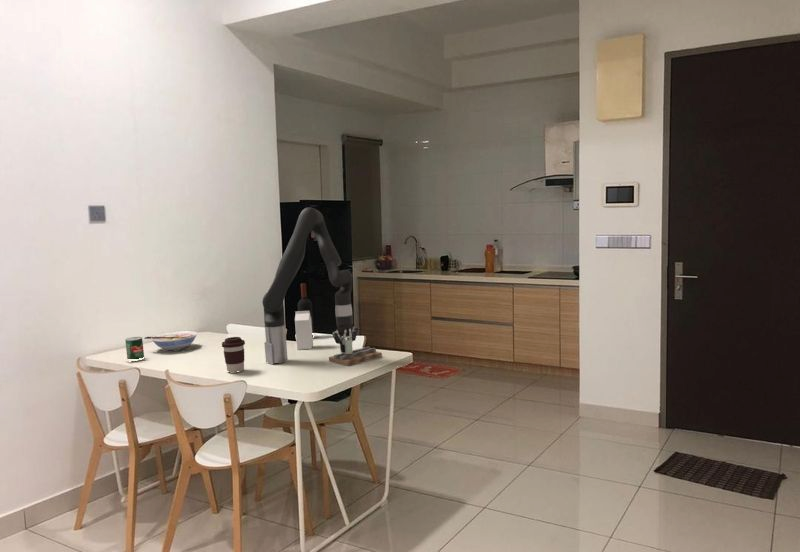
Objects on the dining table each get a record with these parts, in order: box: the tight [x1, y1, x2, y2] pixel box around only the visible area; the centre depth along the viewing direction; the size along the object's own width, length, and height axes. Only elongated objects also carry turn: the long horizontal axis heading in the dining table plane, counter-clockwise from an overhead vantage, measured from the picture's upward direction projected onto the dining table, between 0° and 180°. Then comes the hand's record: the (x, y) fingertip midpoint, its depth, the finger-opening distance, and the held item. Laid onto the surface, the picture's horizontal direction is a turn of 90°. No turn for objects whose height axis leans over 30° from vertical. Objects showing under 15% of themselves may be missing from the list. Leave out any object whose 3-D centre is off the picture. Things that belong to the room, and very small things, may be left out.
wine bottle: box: [297, 283, 315, 334], centre depth 343 cm, size 8×8×30 cm
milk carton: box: [294, 310, 314, 351], centre depth 320 cm, size 7×7×19 cm
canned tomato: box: [124, 336, 145, 360], centre depth 315 cm, size 8×8×11 cm
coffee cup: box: [221, 336, 246, 372], centre depth 282 cm, size 10×10×15 cm
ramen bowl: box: [144, 330, 198, 351], centre depth 335 cm, size 25×23×8 cm
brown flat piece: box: [328, 346, 383, 367], centre depth 292 cm, size 20×14×4 cm
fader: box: [340, 338, 354, 355], centre depth 288 cm, size 3×5×8 cm, turn 42°
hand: (346, 351), depth 288 cm, fingers closed on fader, 3 cm apart
